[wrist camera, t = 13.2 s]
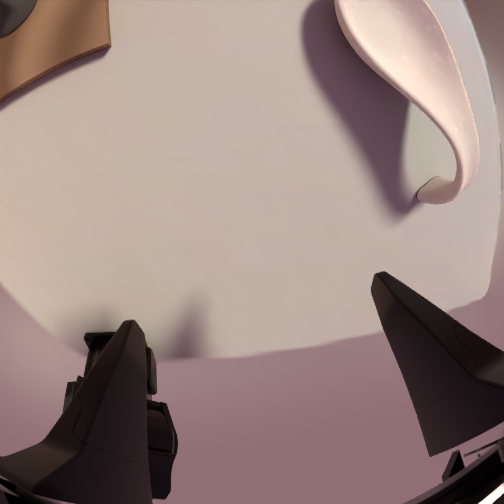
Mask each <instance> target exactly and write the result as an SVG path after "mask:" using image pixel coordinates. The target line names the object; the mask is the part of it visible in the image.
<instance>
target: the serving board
mask: <svg viewBox="0 0 504 504" xmlns="http://www.w3.org/2000/svg"><path fill="white" fill-rule="evenodd" d="M108 47H111V37H110V25H109V9H108V0H37V2H36V4H35V6H34V8H33V10H32V11H31V13H30V14H29V16H28V17H27V18H26V19H25V21H24V22H23V23H22V24H21V25H20V26H19V27H18V28H16V29H15V30H14V31H13V32H11V33H10V34H8V35H6V36H3V37H0V102H2V101H3V100H5V99H6V98H8V97H9V96H11V95H12V94H14V93H15V92H17V91H18V90H20V89H22V88H23V87H25V86H26V85H28V84H30V83H32V82H33V81H35V80H37V79H39V78H40V77H42V76H44V75H46V74H48V73H50V72H52V71H54V70H56V69H58V68H60V67H62V66H64V65H66V64H68V63H70V62H73V61H75V60H77V59H80V58H82V57H84V56H87V55H89V54H92V53H94V52H97V51H100V50H102V49H105V48H108Z"/></svg>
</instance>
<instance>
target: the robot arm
mask: <svg viewBox="0 0 504 504" xmlns="http://www.w3.org/2000/svg"><path fill="white" fill-rule="evenodd" d="M371 294H372V297H373V300H374V303H375V306H376V309H377V312H378V315H379V318H380V321H381V324H382V327H383V329H384V332H385V334H386V336H387V339H388V341H389V343H390V346H391V348H392V351H393V353H394V355H395V358H396V360H397V363H398V365H399V368H400V370H401V373H402V375H403V378H404V381H405V383H406V386H407V388H408V391H409V394H410V397H411V400H412V402H413V405H414V408H415V411H416V414H417V418H418V420H419V424H420V427H421V430H422V433H423V436H424V440H425V443H426V447H427V450H428V454H429V456H430V457H431V456H434V455H437V454H439V453H441V452H444V451H446V450H449V449H451V448H454V447H456V446H458V447H459V449H457V450H456V451H454V452H453V453H452V455H451V457H450V460H449V462H448V465H447V467H446V469H445V472H444V473H443V475H442V480H443V483H441V484H439V485H438V486H436V487H434V488H433V489H431V490H429V491H427V492H425V493H423V494H422V495H420V496H418V497H416V498H414V499H412V500H410V501H408V502H406V503H404V504H504V351H502V350H500V349H498V348H497V347H495V346H494V345H492V344H490V343H489V342H487V341H486V340H484V339H482V338H481V337H479V336H478V335H476V334H475V333H473V332H472V331H470V330H469V329H467V328H466V327H465V326H463V325H462V324H460V323H459V322H458V321H456V320H454V319H453V318H452V317H451V316H449V315H448V314H447V313H445V312H444V311H442V310H441V309H440V308H438V307H437V306H435V305H434V304H433V303H431V302H430V301H428V300H427V299H425V298H424V297H423V296H421V295H420V294H418V293H417V292H415V291H414V290H412V289H411V288H409V287H408V286H406V285H405V284H404V283H402V282H401V281H399V280H398V279H396V278H395V277H393V276H391V275H390V274H388V273H387V272H385V271H383V272H379V273H376V274H375V275H374V278H373V282H372V286H371ZM84 340H85V342H86V344H87V346H88V348H89V352H88V357H87V361H86V366H85V372H84V377H81V376H78V377H77V380H76V382H75V381H74V382H68V384H67V388H66V393H65V399H64V406H63V413H62V415H61V417H60V418H59V420H58V421H57V422H56V424H55V425H54V427H53V428H52V430H51V431H50V432H49V434H48V435H47V436H46V438H45V439H44V440H43V441H41V442H40V443H38V444H36V445H34V446H31V447H29V448H26V449H24V450H21V451H19V452H16V453H13V454H11V455H8V456H3V457H1V456H0V475H1V476H0V504H153V503H152V500H153V499H162V500H164V499H166V498H167V496H168V494H169V493H170V491H171V471H172V465H173V462H174V459H175V457H176V454H177V448H178V439H177V434H176V431H175V428H174V425H173V422H172V419H171V416H170V413H169V410H168V407H167V404H166V403H163V402H160V403H159V402H156V401H152V395H155V394H156V393H157V377H156V361H155V358H154V355H153V352H152V349H151V348H149V347H148V346H147V343H146V340H145V335H144V332H143V331H142V329H141V328H140V327H139V325H138V324H137V322H136V321H135V320H125V321H124V322H123V323H122V324H121V326H120V327H119V329H118V330H117V331H116V332H104V333H86V334H85V336H84Z"/></svg>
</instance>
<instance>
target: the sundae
mask: <svg viewBox="0 0 504 504" xmlns="http://www.w3.org/2000/svg"><path fill="white" fill-rule="evenodd" d="M36 2H37V0H0V37H3V36H6V35H8V34H10V33H11V32H13V31H14V30H15V29H16V28H18V27H19V26H20V25H21V24H22V23H23V22H24V21H25V19H26V18H27V17H28V16H29V14H30V13H31V11H32V10H33V8H34V6H35V4H36Z"/></svg>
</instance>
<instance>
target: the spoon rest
mask: <svg viewBox="0 0 504 504" xmlns="http://www.w3.org/2000/svg"><path fill="white" fill-rule="evenodd" d="M334 4H335V11H336V16H337V19H338V22H339V25H340V27H341V29H342V32H343V33H344V35H345V37H346V39H347V40H348V42H349V44H350V45H351V47H352V48H353V49H354V51H355V52H356V53H357V54H358V55H359V57H360V58H361V59H362V60H363V61H364V62H365V63H366V64H367V65H368V66H369V67H370V68H371V69H372V70H373V71H375V72H376V73H377V74H378V75H379V76H381V77H382V78H383V79H384V80H386V81H387V82H388V83H389V84H390V85H392V86H393V87H394V88H395V89H397V90H398V91H399V92H400V93H401V94H402V95H404V96H405V97H406V98H407V99H409V100H410V101H411V102H412V103H413V104H415V105H416V106H417V107H418V108H419V109H420V110H421V111H423V112H424V113H425V114H426V115H427V116H428V117H429V118H430V119H431V120H432V121H433V122H434V123H435V125H436V126H437V127H438V128H439V129H440V130H441V131H442V133H443V134H444V135H445V137H446V138H447V140H448V141H449V143H450V145H451V147H452V149H453V151H454V154H455V157H456V163H457V171H456V176H455V179H454V181H452V180H449V179H446V178H444V177H441V176H437V177H434V178H433V179H431V180H430V181H429V182H428V183H427V184H426V185H424V186H423V187H422V188H421V189H420V190H419V191H418V194H417V198H418V200H420V201H422V202H425V203H429V204H444V203H448V202H450V201H452V200H454V199H455V198H456V197H457V196H458V194H459V193H460V191H462V190H463V189H465V188H467V187H468V186H469V185H470V184H471V183H472V181H473V179H474V177H475V175H476V172H477V168H478V163H479V140H478V135H477V130H476V125H475V121H474V118H473V114H472V110H471V106H470V103H469V100H468V97H467V93H466V90H465V87H464V84H463V81H462V78H461V75H460V72H459V69H458V66H457V63H456V60H455V57H454V55H453V52H452V49H451V47H450V44H449V42H448V40H447V37H446V35H445V33H444V30H443V28H442V26H441V24H440V23H439V21H438V19H437V17H436V15H435V14H434V12H433V11H432V10H431V8H430V7H429V5H428V4H427V3H426V2H425V0H334Z"/></svg>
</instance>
